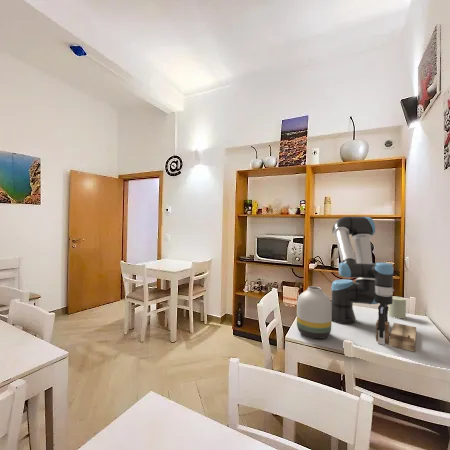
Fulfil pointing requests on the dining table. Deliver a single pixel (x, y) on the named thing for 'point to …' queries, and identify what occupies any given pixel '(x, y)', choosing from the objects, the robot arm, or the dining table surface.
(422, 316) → the dining table surface
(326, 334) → the vase
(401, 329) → the board
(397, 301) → the can
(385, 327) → the brown wooden block
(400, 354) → the dining table surface
